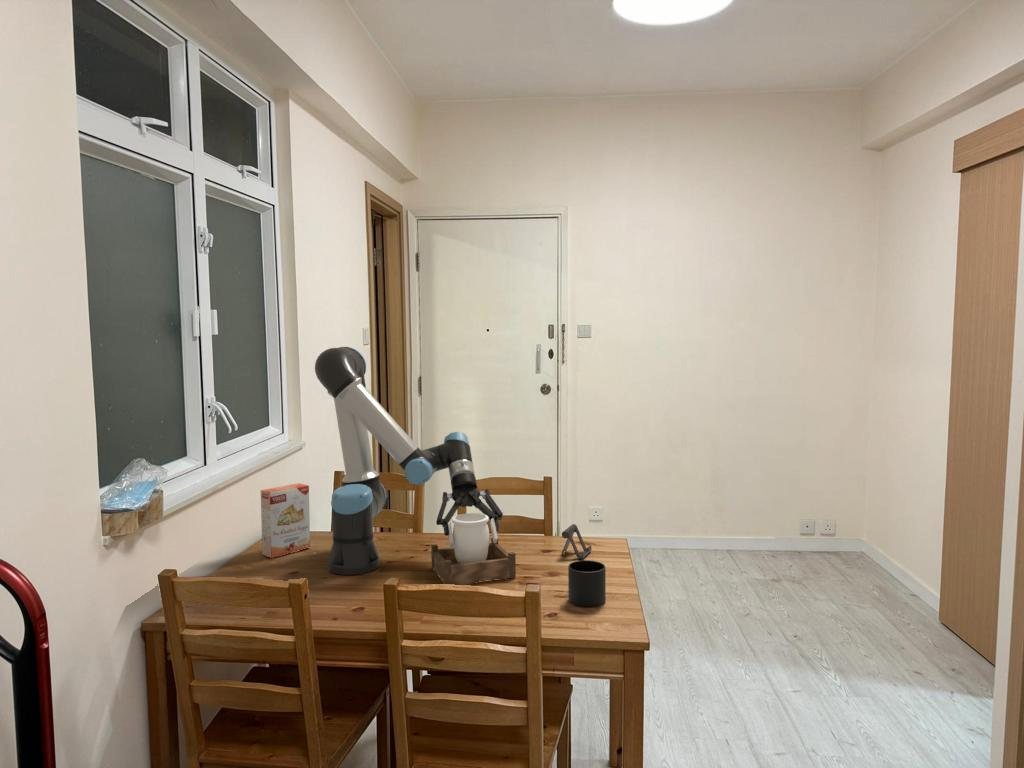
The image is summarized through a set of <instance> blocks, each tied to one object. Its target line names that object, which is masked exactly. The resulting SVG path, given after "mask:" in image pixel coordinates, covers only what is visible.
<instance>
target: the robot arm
mask: <svg viewBox="0 0 1024 768" xmlns="http://www.w3.org/2000/svg"><path fill="white" fill-rule="evenodd" d="M366 372H367V362H366V359H365V357H364V355H363V354H362V353H361V352H360V351H359V350H357V349H355V348H354V347H353V348H352V347H350V346H340V347H330V348H328V349H325V350H323V351H322V352H321V353H320V354H319V355H318V356H317V358H316V360H315V363H314V373H315V376H316V378H317V380H318V381H319V382H320V384H321V385H322V386H323V387H324V388H325V390H327V394H328V395H329V396H331V397H332V398H333V401H334V407H335V414H336V421H337V426H338V432H339V433H338V434H339V439H340V444H341V445H340V446H341V452H342V458H343V464H344V471H345V475H344V476H343V478H342V479H341V484H342V486H340V487H337V488H336V489H335V490H333V492H332V493H331V494H332V495H331V501H330V506H331V518H332V519H331V523H332V545H331V548H330V552H329V556H328V559H327V570H328V572H330V573H332V574H336V575H342V576H350V575H351V576H353V575H362V574H367V573H369V572H373V571H374V570H375V571H376V570H377V569H379V567H380V566H381V557H380V553H379V551H378V548H377V545H376V543H375V540H374V519H375V517H376V516H377V515H379V514H380V513H381V511H382V510H383V509H384V506H385V505H386V500H387V493H386V488H385V487H384V485H383V483H381V477H380V473H379V472H378V471H376V470H375V469H374V464H373V458H372V450H371V443H370V438H369V433H370V434H371V435H372V436H373V438H374V439H375V440H376V441H377V442H378V443H379V444H380V445H381V447H383V449H384V450H385V451H386V452H387V453H388V454H389V455H390V456H391V457H392V459H394V461H395V462H396V463H397V464H398V466H399V467H400V468H401V469H402V470H403V471H404V476H405V478H406V480H407V481H408V482H409V483H411V484H412V485H417V486H419V485H420V486H421V485H423V484H425V483H427V482H428V481H430V479H431V478H432V477H433V475H434V474H435V473H436V472H439V471H442V470H445V469H448V473H449V474H448V475H449V480H450V486H451V493H448V492H446V491H443V492H442V501H441V502H442V503H441V504H440V505H441V506H440V509H439V511H438V515H437V517H436V525H437V526H442V528H443V534H444V536H448V542H449V548H452V547H454V546H453V543H454V541H453V528H452V522H451V521H452V518H453V517H454V516H455V514H456V512H457V510H459V508H460V507H461V508H465V507H470V508H471V507H474V508H475V509H478V510H479V511H480V512H481V514H484V515H487V516H488V517H489V521H490V522H489V526H490V531H491V536H492V537H491V538H493V542H494V543H497V540H498V541H499V538H498V532H499V529H500V525H499V521H501V520H502V519H503V516H504V514H503V513H504V512H502V510H501V509H500V507H499V506H498V505H497V503H496V501H495V500H494V499H493V498H492V496H491V494H490V489H488V488H485V489H484V490H482V491H480V490H479V488H478V484H477V479H476V478H477V477H476V473H475V469H474V463H473V459H472V458H473V456H472V451H471V446H470V442H469V438H468V436H467V435H466V433H463V432H461V431H452V432H449V433H448V434H447V435H445V436H444V439H443V440H444V441H443V443H441V444H438V445H437V446H436V445H435V446H433V447H428V448H425V449H421V448H419V446H418V445H417V444H416V443H415V442H414V440H413V439H412V438H411V437H410V436H409V435H408V434H407V432H405V431H404V429H403V428H402V427H401V426H400V425H399V424H398V423H397V422H396V421H395V419H394V418H393V417H392V416H391V414H389V412H388V411H387V410H386V409H385V408H384V407H383V405H381V403H380V402H379V401H378V400H377V399H376V398H375V396H373V394H372V393H371V392H370V391H369V390H368V389H367V387H366V386H367V385H366V379H365V375H366ZM480 497H481V498H482V499H483V500H484V501H485V503H486V504H485V503H484V502H483V501H482V499H480ZM450 499H452V500H453V501H454V503H453V505H452V506H451V508H450V509H449V511H448V512H447V513H446V516H445V517H443V516H444V514H445V511H446V507H447V504H448V502H450Z"/></svg>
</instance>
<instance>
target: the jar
mask: <svg viewBox="0 0 1024 768" xmlns="http://www.w3.org/2000/svg"><path fill="white" fill-rule="evenodd" d="M451 521H452V522H451V523H453V528H452V534H453V541H454V543H453V547H454V552H455V557H456V560H457V562H458V563H459V564H464V563H472V562H480V561H486V558H487V555H488V547H489V543H490V530H489V525H488V522H489V521H490V519H489V517H488V516H487V515H485V514H483V513H474V512H473V513H472V512H470V513H461V514H457V515H453V517H452V518H451Z"/></svg>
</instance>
